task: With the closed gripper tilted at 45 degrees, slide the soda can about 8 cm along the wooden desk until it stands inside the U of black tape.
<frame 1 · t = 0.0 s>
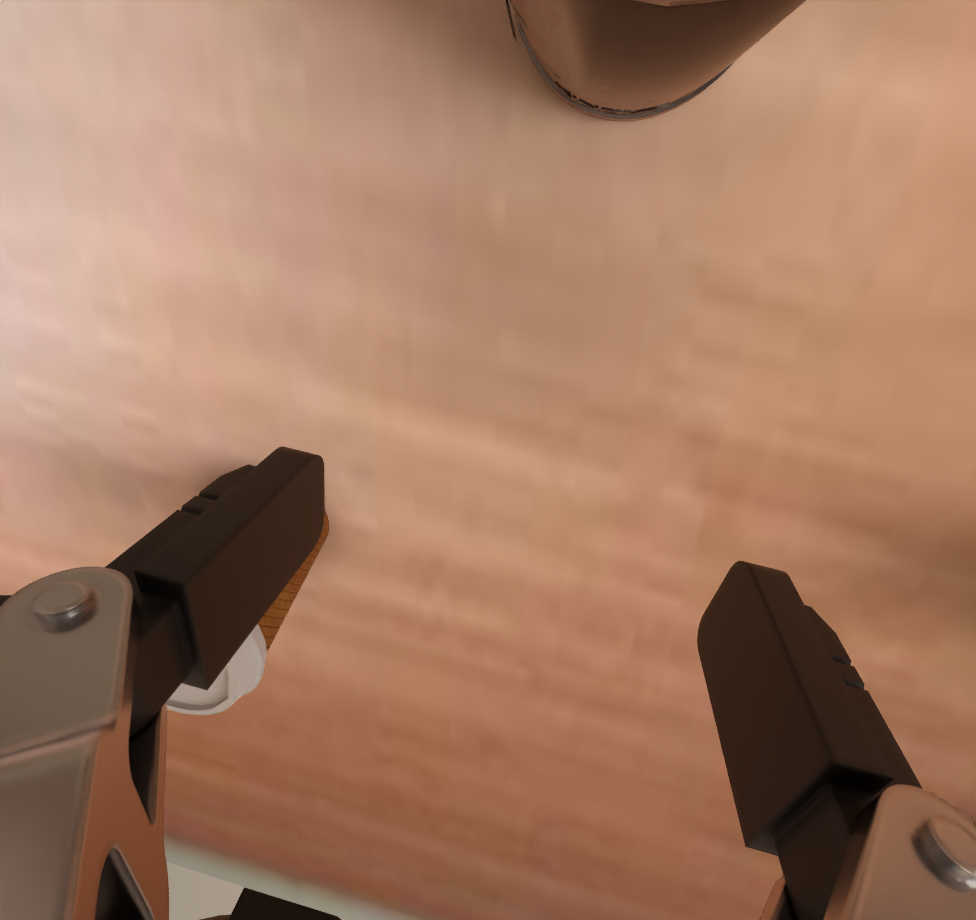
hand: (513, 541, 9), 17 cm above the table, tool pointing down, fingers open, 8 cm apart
disposable coffee cup: (288, 513, 34), on the table
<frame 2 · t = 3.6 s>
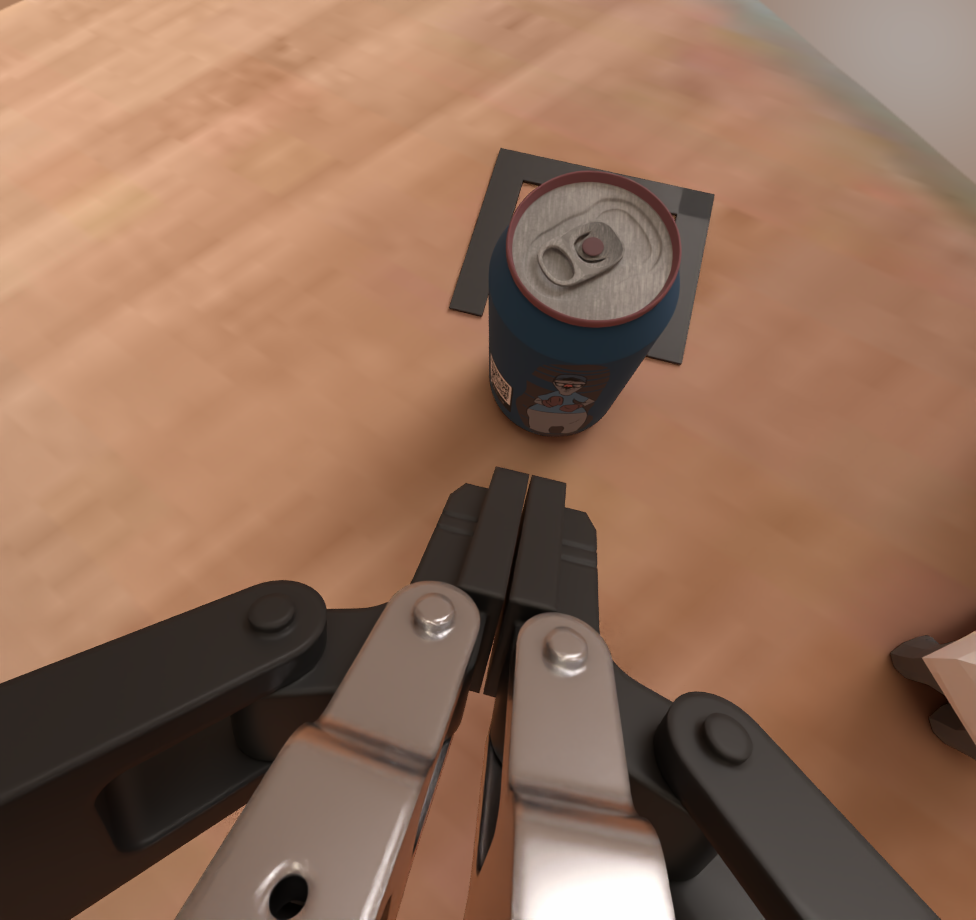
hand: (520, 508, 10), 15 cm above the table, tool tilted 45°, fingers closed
soda can: (550, 385, 28), on the table
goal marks: (581, 264, 29), on the table
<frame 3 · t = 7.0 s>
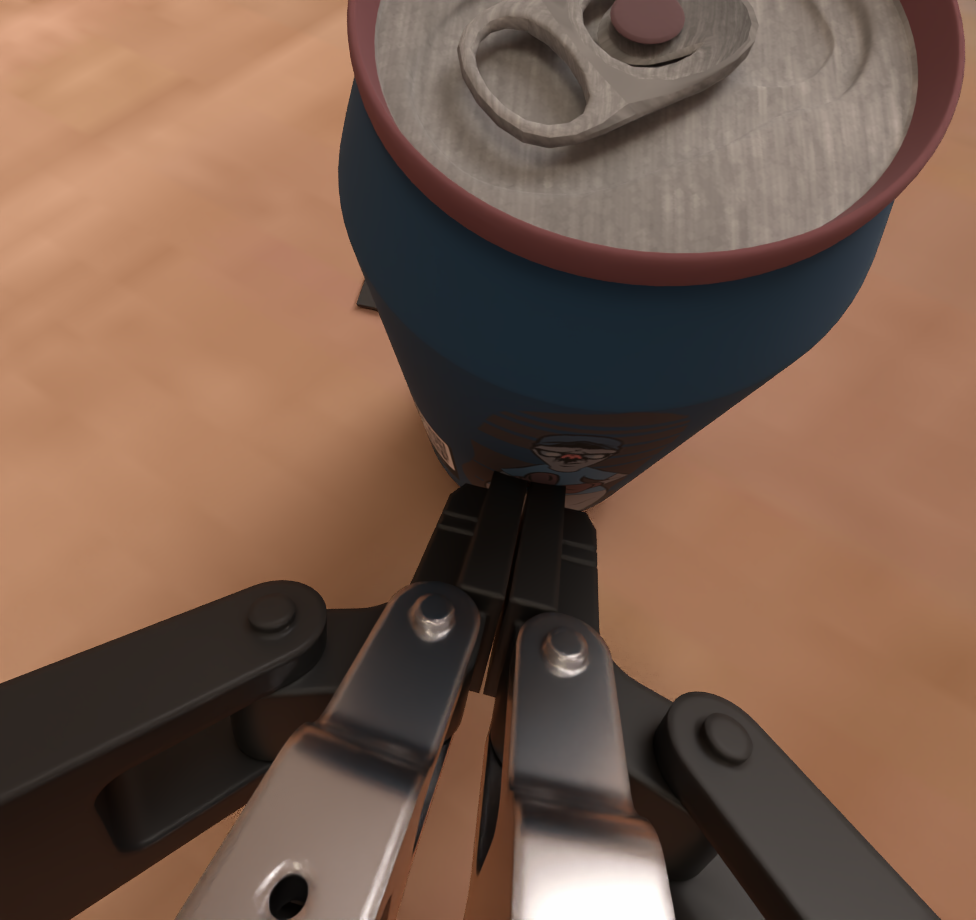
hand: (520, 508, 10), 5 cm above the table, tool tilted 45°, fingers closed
soda can: (533, 421, 16), on the table, touching gripper
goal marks: (574, 230, 18), on the table
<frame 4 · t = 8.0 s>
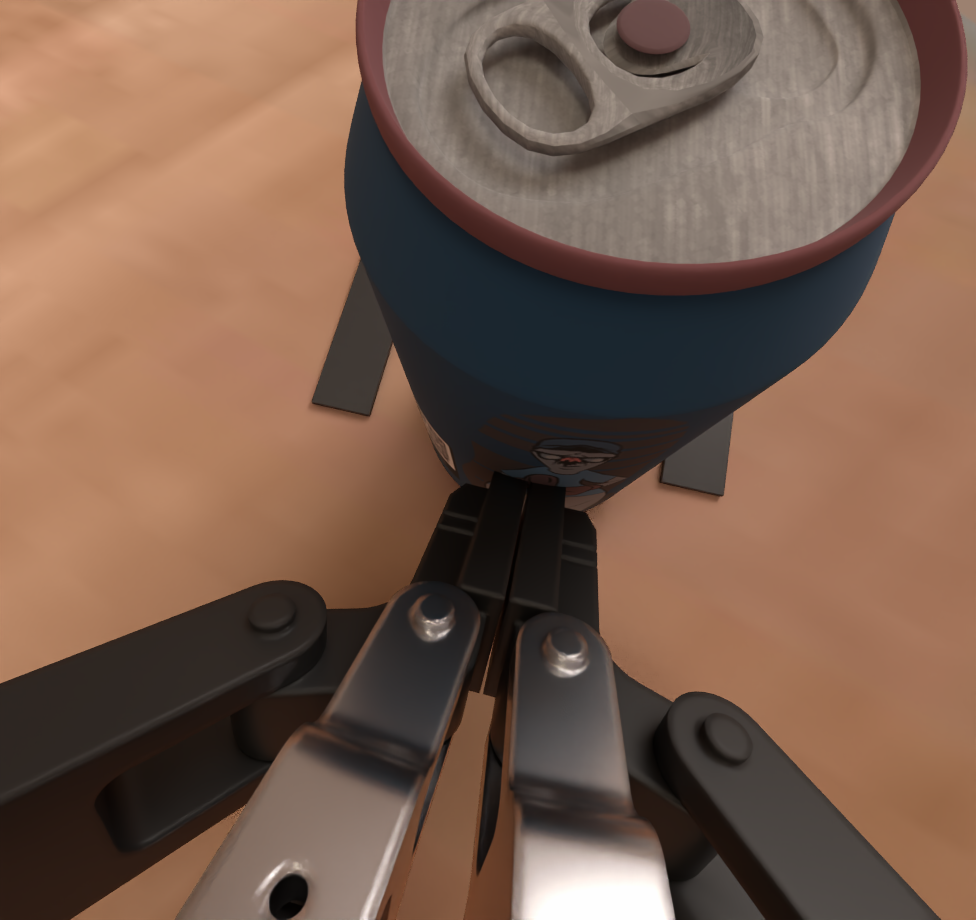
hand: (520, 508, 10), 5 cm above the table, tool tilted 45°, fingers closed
soda can: (534, 422, 16), on the table, touching gripper
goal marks: (542, 319, 17), on the table
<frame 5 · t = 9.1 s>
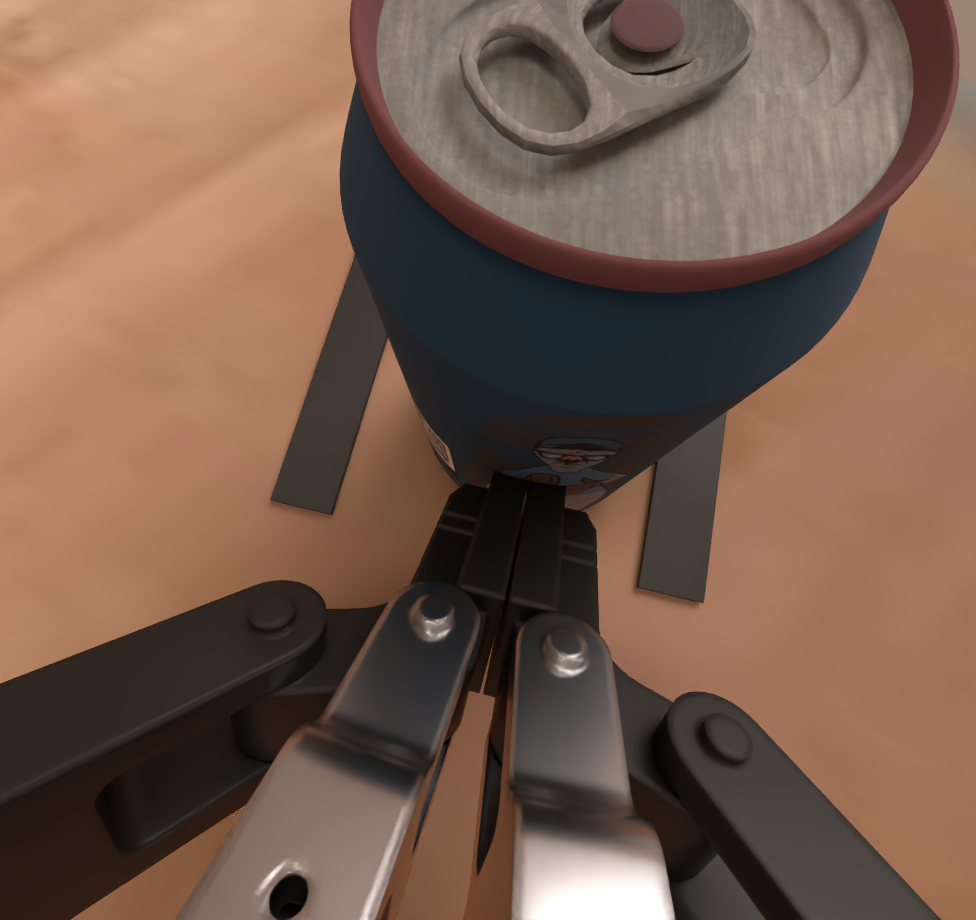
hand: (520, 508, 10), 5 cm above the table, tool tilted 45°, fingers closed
soda can: (532, 421, 16), on the table, touching gripper
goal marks: (515, 406, 16), on the table
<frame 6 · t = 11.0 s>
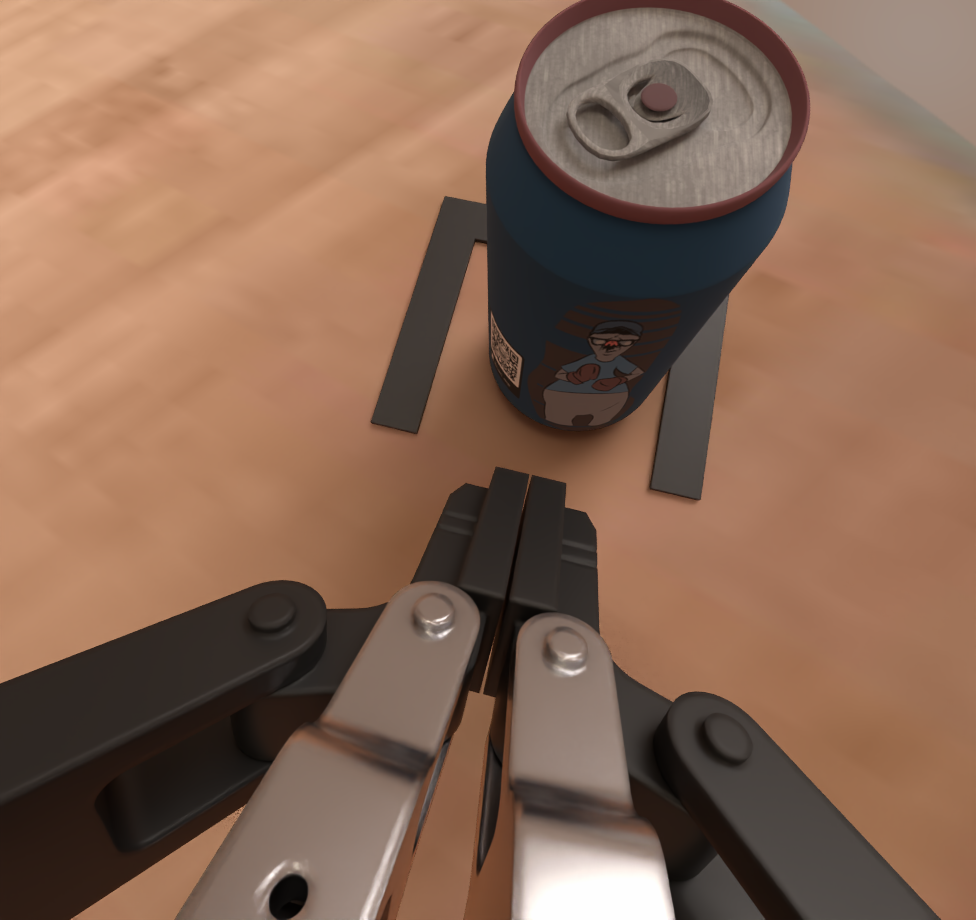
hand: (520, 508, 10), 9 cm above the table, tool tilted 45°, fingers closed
soda can: (568, 366, 21), on the table
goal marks: (555, 355, 21), on the table
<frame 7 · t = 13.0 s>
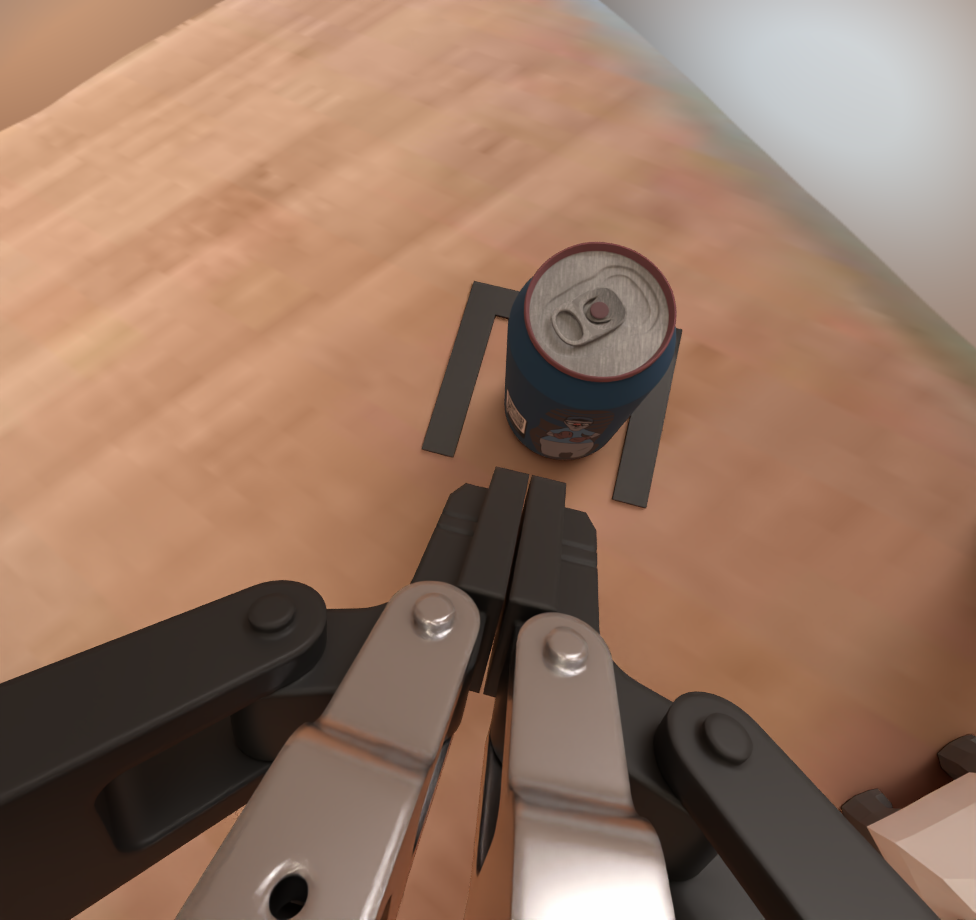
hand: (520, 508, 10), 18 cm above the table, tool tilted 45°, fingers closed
soda can: (559, 411, 30), on the table
giant panda: (951, 801, 25), on the table
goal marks: (551, 403, 30), on the table
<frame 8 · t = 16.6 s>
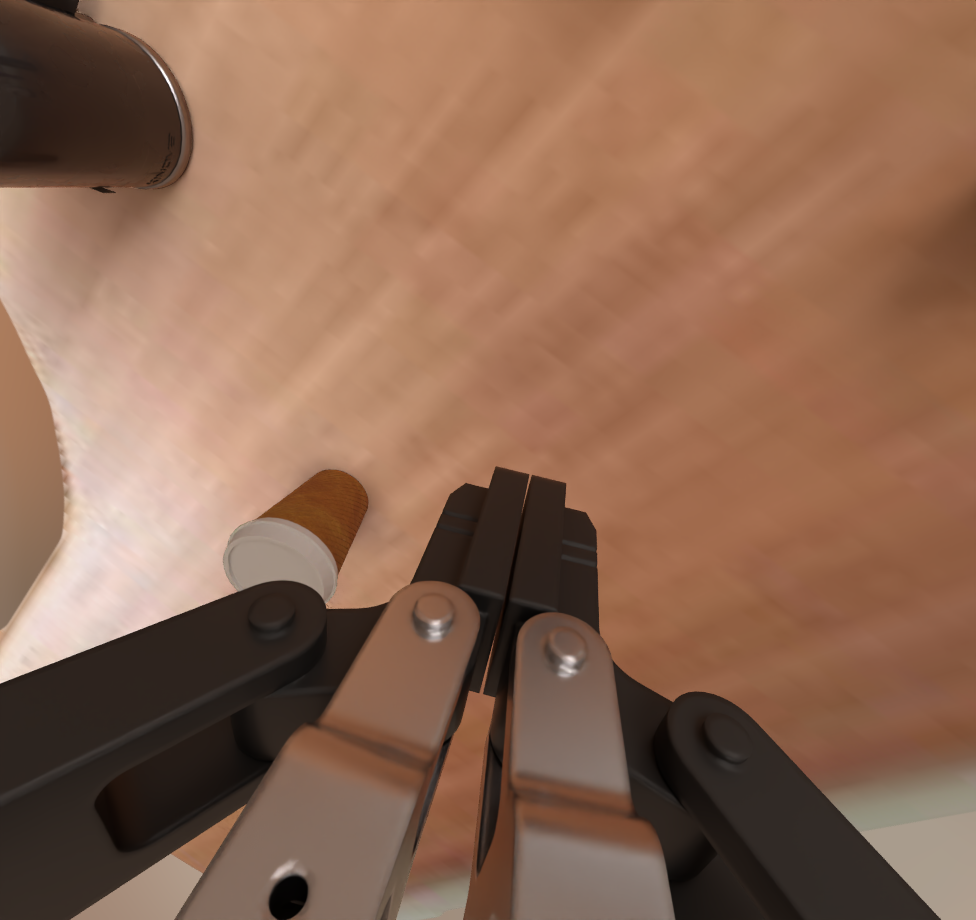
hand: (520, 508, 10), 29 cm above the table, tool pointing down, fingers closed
disposable coffee cup: (339, 494, 49), on the table
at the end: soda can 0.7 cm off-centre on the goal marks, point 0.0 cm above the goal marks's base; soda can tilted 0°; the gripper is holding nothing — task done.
